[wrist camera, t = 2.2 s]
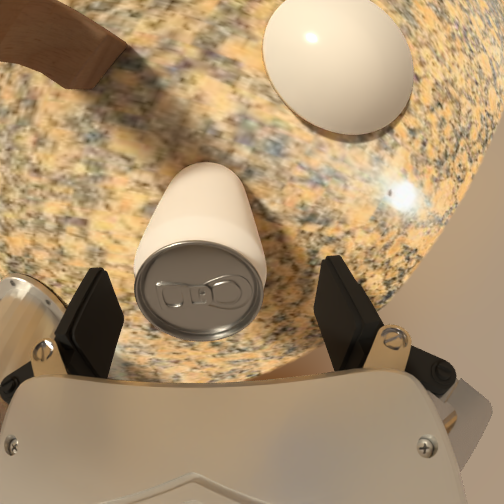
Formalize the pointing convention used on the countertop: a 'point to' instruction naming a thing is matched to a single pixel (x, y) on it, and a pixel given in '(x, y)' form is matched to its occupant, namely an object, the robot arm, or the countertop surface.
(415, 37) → the countertop surface
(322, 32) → the white dome
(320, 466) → the robot arm
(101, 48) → the wooden block
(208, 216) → the can
